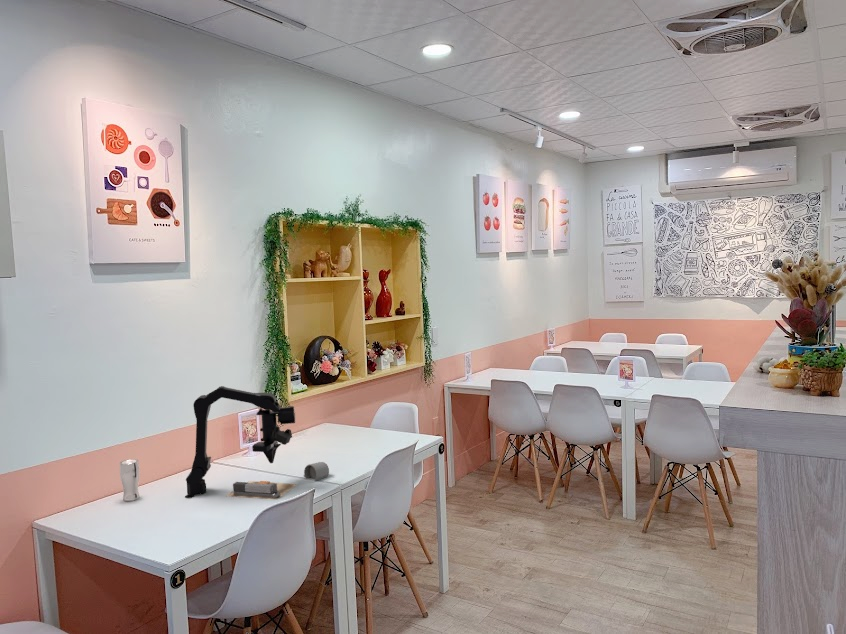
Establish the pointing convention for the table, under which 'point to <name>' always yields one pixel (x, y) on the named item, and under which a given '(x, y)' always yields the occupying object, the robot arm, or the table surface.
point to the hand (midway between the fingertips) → (271, 463)
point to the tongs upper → (252, 487)
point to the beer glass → (130, 479)
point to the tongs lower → (256, 494)
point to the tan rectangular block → (264, 482)
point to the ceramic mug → (316, 471)
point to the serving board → (281, 488)
